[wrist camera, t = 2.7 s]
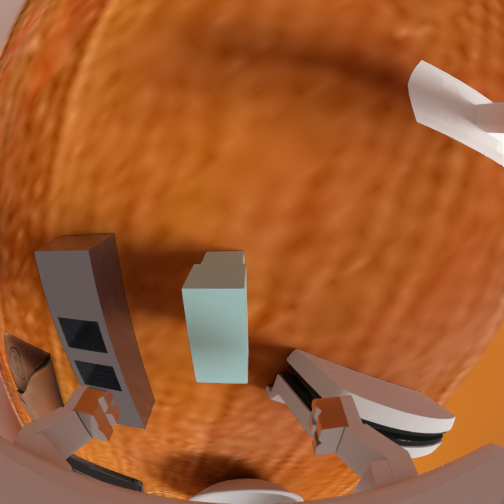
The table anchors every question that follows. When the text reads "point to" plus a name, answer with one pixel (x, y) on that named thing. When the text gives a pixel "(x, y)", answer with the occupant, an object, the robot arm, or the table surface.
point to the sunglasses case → (33, 377)
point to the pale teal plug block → (218, 317)
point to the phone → (103, 474)
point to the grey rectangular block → (96, 320)
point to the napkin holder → (363, 402)
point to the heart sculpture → (457, 110)
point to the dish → (246, 493)
